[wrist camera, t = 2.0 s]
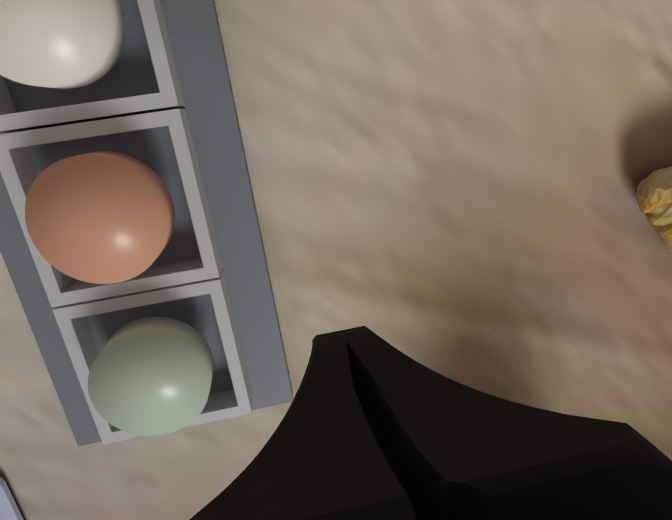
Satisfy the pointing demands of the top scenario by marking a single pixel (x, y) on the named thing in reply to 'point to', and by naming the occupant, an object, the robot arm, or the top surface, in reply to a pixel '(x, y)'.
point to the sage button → (152, 376)
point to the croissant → (658, 202)
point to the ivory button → (59, 41)
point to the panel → (189, 203)
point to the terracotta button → (99, 216)
